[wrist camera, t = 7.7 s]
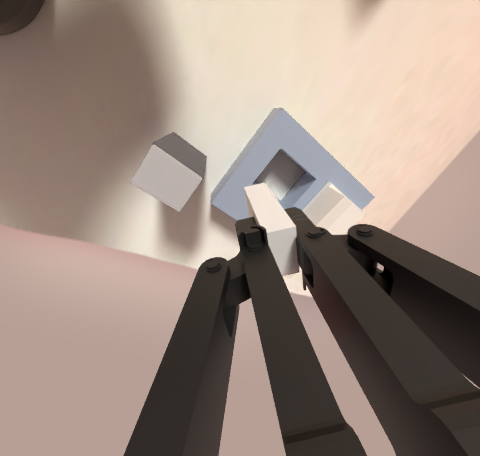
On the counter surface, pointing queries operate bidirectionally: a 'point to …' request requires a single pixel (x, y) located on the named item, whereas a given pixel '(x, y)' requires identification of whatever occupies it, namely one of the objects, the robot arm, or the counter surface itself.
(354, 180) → the socket board
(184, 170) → the plug
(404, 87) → the counter surface
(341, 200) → the shutter
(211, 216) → the counter surface
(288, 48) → the counter surface
